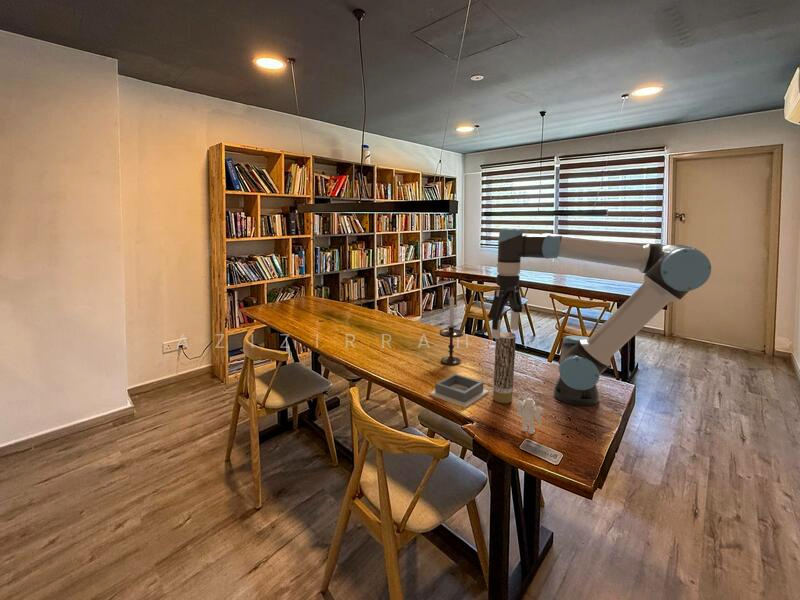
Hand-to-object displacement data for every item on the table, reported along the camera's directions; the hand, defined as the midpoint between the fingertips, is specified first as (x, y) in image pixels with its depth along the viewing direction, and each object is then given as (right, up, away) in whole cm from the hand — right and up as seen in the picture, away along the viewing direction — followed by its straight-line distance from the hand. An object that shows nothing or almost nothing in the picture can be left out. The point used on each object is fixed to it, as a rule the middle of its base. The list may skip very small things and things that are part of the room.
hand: (505, 333), depth 139 cm
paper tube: (0, -25, +5) cm, 26 cm away
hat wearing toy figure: (+3, -29, -15) cm, 33 cm away
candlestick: (-14, -17, +44) cm, 49 cm away
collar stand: (-15, -24, +11) cm, 30 cm away
